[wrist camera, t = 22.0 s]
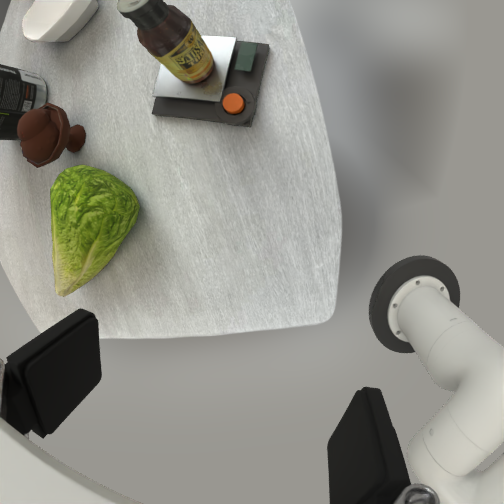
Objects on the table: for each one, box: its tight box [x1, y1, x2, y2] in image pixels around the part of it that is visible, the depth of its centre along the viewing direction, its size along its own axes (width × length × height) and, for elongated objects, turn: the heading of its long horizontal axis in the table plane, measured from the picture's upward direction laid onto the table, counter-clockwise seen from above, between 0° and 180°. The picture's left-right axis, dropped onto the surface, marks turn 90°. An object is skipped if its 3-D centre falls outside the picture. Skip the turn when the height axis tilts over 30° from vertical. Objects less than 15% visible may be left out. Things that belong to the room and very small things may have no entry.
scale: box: [152, 41, 269, 127], centre depth 39 cm, size 16×14×3 cm
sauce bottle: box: [117, 0, 214, 84], centre depth 27 cm, size 7×6×20 cm
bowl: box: [22, 0, 98, 42], centre depth 35 cm, size 18×18×9 cm
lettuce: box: [50, 165, 140, 297], centre depth 43 cm, size 14×24×15 cm
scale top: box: [152, 36, 258, 102], centre depth 37 cm, size 14×11×1 cm
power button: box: [223, 93, 244, 114], centre depth 37 cm, size 3×3×2 cm
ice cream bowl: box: [17, 103, 86, 168], centre depth 38 cm, size 11×11×15 cm
